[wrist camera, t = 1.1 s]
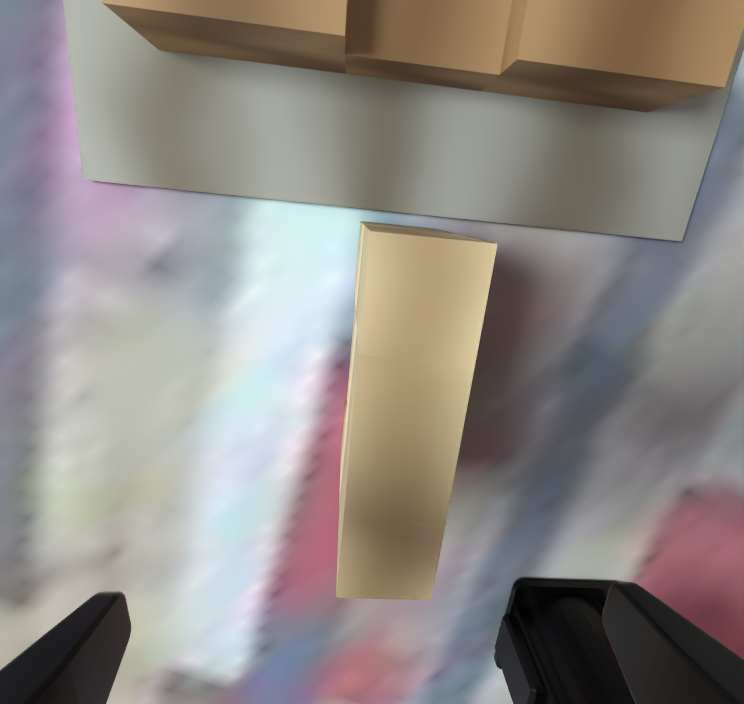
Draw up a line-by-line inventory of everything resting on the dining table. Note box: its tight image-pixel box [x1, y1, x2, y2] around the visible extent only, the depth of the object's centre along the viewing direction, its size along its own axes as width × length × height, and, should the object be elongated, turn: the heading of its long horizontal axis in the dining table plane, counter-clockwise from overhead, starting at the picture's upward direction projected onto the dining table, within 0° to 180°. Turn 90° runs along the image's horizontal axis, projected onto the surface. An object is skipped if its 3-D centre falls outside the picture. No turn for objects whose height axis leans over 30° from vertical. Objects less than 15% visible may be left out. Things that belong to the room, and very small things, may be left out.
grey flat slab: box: [63, 0, 744, 241], centre depth 13 cm, size 24×12×4 cm, turn 84°
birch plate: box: [336, 221, 498, 600], centre depth 15 cm, size 3×11×8 cm, turn 174°
